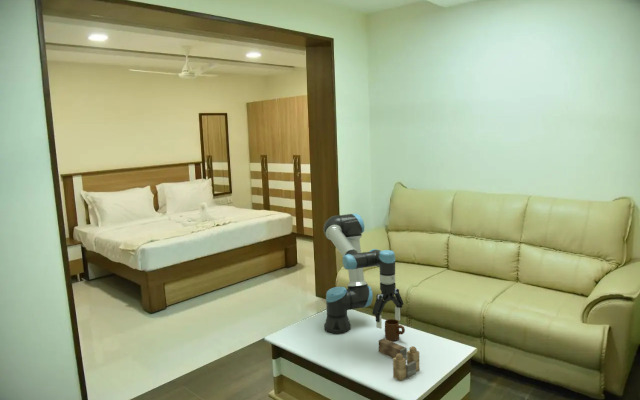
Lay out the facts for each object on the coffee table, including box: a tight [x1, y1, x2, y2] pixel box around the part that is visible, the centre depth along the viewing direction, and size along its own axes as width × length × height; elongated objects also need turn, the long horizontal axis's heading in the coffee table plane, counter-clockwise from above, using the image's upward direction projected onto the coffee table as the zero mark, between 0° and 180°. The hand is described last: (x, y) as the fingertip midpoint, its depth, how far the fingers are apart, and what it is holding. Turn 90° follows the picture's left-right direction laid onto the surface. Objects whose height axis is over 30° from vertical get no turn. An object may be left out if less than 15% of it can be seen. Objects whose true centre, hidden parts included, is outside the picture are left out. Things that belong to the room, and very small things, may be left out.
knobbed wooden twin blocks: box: [392, 345, 420, 382], centre depth 201 cm, size 5×14×11 cm, turn 129°
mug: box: [384, 318, 406, 342], centre depth 235 cm, size 12×8×9 cm, turn 43°
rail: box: [378, 337, 408, 361], centre depth 219 cm, size 15×4×6 cm, turn 39°
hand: (388, 323), depth 219 cm, fingers open, 13 cm apart
